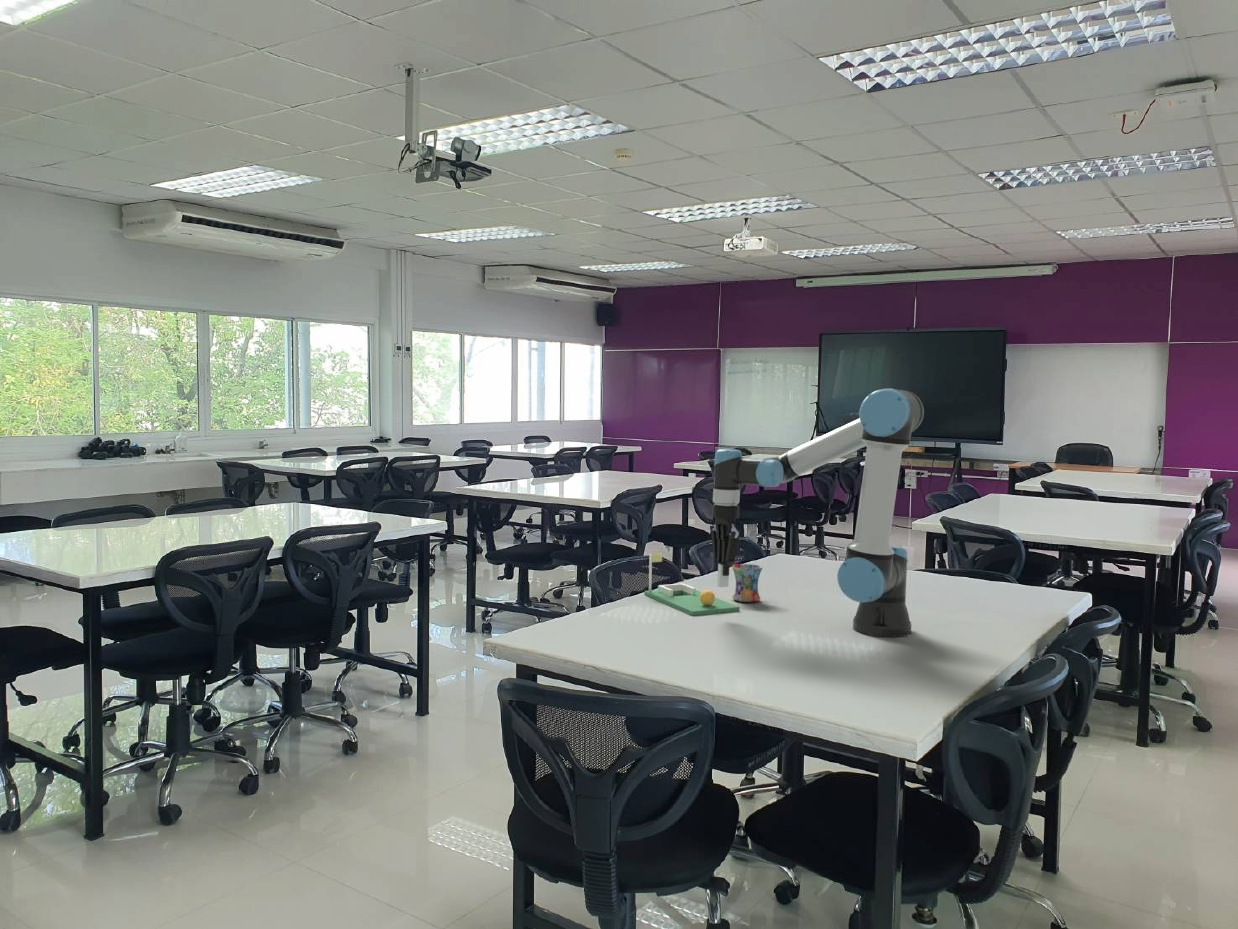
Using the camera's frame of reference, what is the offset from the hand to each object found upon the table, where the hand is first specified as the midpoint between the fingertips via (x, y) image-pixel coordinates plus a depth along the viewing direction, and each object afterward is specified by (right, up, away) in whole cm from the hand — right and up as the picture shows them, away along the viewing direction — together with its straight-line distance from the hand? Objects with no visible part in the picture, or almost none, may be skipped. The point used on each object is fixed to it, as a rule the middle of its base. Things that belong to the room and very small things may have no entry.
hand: (722, 586), depth 246 cm
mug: (+11, -8, +23) cm, 26 cm away
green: (-8, -7, +17) cm, 21 cm away
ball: (-4, -5, +8) cm, 10 cm away
